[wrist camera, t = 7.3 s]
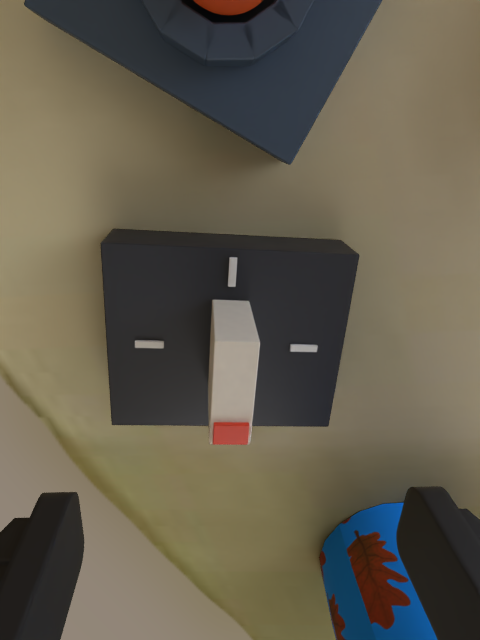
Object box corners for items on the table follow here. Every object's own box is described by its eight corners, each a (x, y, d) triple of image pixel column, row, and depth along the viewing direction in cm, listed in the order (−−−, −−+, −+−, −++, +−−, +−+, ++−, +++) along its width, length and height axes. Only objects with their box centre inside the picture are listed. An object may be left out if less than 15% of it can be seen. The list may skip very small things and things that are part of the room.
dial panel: (341, 239, 23) (361, 255, 20) (316, 396, 27) (329, 428, 24) (113, 228, 22) (99, 243, 19) (121, 394, 26) (111, 427, 23)
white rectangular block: (212, 299, 21) (214, 343, 16) (249, 300, 21) (261, 345, 17) (208, 387, 23) (209, 448, 18) (242, 388, 23) (251, 448, 19)
